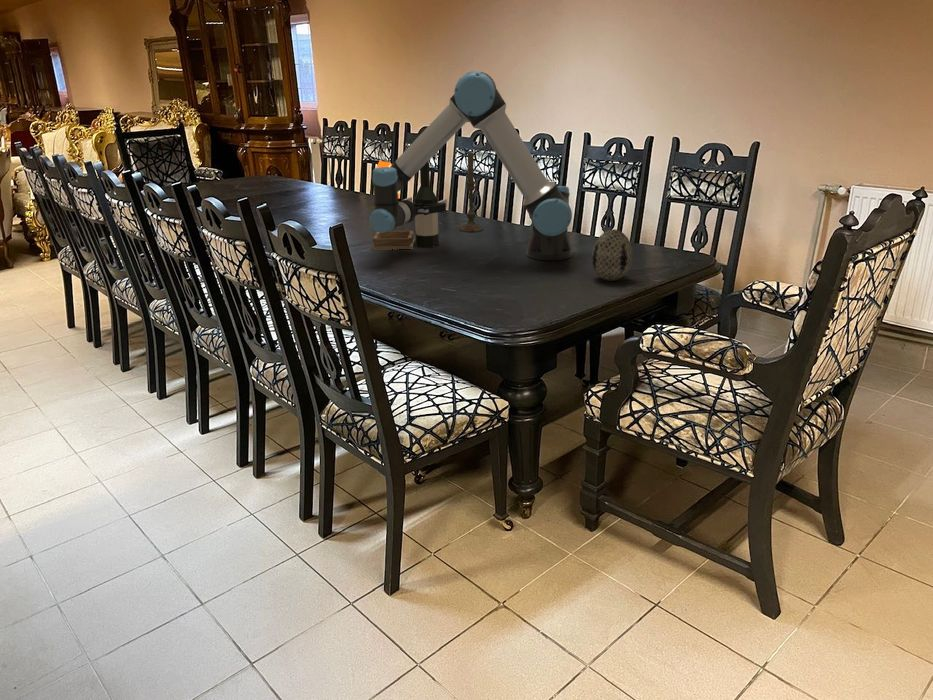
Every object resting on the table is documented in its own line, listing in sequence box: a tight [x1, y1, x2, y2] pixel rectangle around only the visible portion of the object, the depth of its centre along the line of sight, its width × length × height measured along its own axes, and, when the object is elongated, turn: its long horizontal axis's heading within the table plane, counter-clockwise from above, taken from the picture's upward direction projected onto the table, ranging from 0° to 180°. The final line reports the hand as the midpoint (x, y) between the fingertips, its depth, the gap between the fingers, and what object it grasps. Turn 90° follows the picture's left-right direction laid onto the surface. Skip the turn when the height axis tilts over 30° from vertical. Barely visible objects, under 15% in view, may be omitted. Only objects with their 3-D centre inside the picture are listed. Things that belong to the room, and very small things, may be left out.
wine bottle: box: [413, 160, 440, 248], centre depth 243 cm, size 8×8×30 cm
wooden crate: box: [371, 230, 416, 251], centre depth 248 cm, size 14×14×4 cm
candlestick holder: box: [459, 151, 484, 233], centre depth 265 cm, size 9×9×30 cm
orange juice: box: [376, 160, 400, 198], centre depth 316 cm, size 8×9×20 cm
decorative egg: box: [591, 229, 634, 282], centre depth 202 cm, size 12×12×15 cm
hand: (428, 201), depth 245 cm, fingers open, 13 cm apart
